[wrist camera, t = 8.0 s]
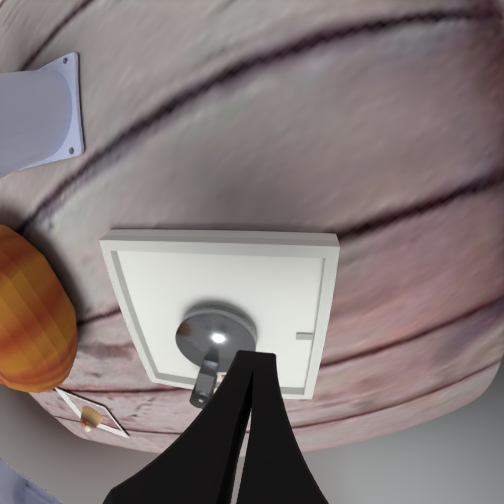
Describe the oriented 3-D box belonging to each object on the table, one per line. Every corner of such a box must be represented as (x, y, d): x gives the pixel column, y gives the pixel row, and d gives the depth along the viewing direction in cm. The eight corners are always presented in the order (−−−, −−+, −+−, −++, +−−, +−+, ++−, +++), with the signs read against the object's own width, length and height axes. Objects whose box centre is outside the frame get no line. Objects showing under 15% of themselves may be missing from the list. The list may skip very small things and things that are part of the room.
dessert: (56, 382, 38) (45, 401, 33) (107, 402, 36) (96, 425, 32) (84, 416, 43) (75, 433, 39) (132, 434, 42) (124, 454, 38)
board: (156, 368, 27) (151, 381, 26) (111, 229, 20) (98, 240, 18) (311, 384, 25) (311, 399, 24) (335, 233, 18) (339, 246, 16)
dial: (184, 294, 20) (169, 324, 17) (267, 318, 20) (262, 351, 17) (176, 370, 24) (165, 397, 22) (237, 388, 25) (232, 416, 22)
